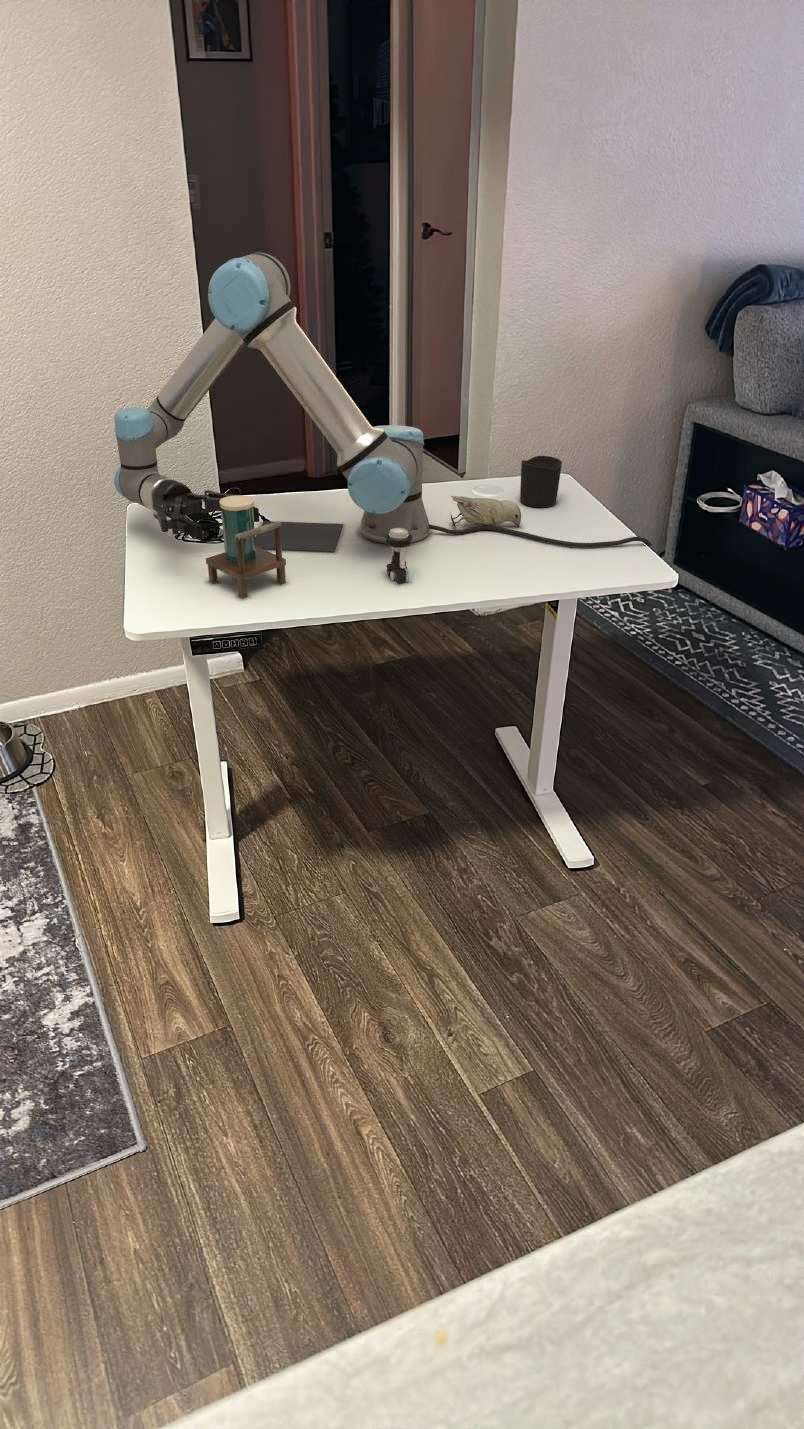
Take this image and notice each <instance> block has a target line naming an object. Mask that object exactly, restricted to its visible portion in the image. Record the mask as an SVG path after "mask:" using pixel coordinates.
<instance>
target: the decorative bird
mask: <svg viewBox="0 0 804 1429" xmlns="http://www.w3.org/2000/svg"><path fill="white" fill-rule="evenodd" d="M450 497H451V499H452V501H454V502H456V506H457V508H458V511H459V513H458V514H457V515H456V516H455V517H453V516H452V514H451V513H449V515H450V519H451V523H452V525H453V527H454V528H455V529H454V530H457V527H456V524H459V523H461V521H462V520H465V522H466V523H468V524H472V525H475V526H499V525H502V524H503V523H506V522H509V523H512V524H514V525H515V526H516V527H520V525H521V522H522V512H521V509H520V507H519V505H518V504H517V503H516V502H514V501H512V500H507V499H506V500H503V499H502V500H499V499H494V498H488V497H487V498H486V497H469V496H463V495H460V496H459V495H450ZM460 516H461V517H460ZM459 517H460V519H459V520H458V521H454V520H456V519H458V518H459Z"/></svg>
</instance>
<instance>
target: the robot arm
mask: <svg viewBox="0 0 804 1429" xmlns="http://www.w3.org/2000/svg"><path fill="white" fill-rule="evenodd" d="M207 292H208V293H207V299H208V305H209V307H210V311H211V313H212V315H213V317H214V319H213V320H212V321H211V323H210V324H209V326H208V328H207V329H206V330H205V331H204V332H203V334H202V335H201V337H199V340H198V341H197V342H196V343H195V345H193V347H192V349H191V350H190V351H189V353H188V354H187V355H186V357H185V358H184V359H183V361H182V362H181V363H180V365H179V366H178V367H177V368H176V370H175V371H174V373H173V374H172V375H171V377H170V378H169V379H168V380H167V382H166V384H165V385H164V386H163V387H162V389H161V390H160V392H159V393H158V395H157V396H156V397H155V398H154V400H153V401H152V402H151V403H150V405H149V406H148V407H147V408H143V407H127V408H122V409H119V410H117V411H116V413H115V414H114V418H113V419H114V433H115V438H116V444H117V450H118V451H117V452H118V457H119V463H120V466H119V468H118V469H117V470H116V471H115V475H114V478H113V484H114V487H115V490H116V491H117V493H118V494H119V495H121V496H122V497H123V498H124V499H126V500H127V501H128V502H129V501H130V502H131V503H133V504H137V505H140V506H143V507H145V508H146V509H148V510H151V511H152V513H153V518H154V519H156V520H158V523H159V524H158V525H159V526H160V529H161V531H162V533H168V532H169V530H171V533H172V535H173V536H175V535H176V536H177V535H179V533H182V534H186V535H187V536H190V537H192V538H194V539H196V540H198V541H201V540H203V529H202V525H201V524H200V523H197V522H195V521H193V520H191V519H188V518H186V517H185V516H190V515H192V514H193V515H197V514H208V513H209V512H221V507H220V504H219V501H220V500H221V499H222V498H224V497H228V496H235V495H236V494H233V493H225V492H224V493H223V492H216V491H213V490H210V489H206V490H204V494H198V493H197V494H196V493H193V492H192V490H191V489H190V488H189V487H188V486H187V484H184V483H182V482H180V481H177V480H175V479H173V478H170V477H169V476H168V477H167V476H165V475H162V474H161V473H159V466H158V458H157V448H159V447H161V446H162V445H163V444H164V443H166V442H168V441H169V440H171V439H173V438H175V437H176V436H177V435H178V434H179V433H180V431H182V429H183V428H184V425H185V422H186V420H187V419H188V417H190V415H191V414H192V412H193V411H194V410H195V409H196V407H197V406H198V405H199V403H201V401H202V400H203V398H204V397H205V396H206V395H207V393H208V392H209V391H210V390H211V388H212V387H213V385H214V384H215V383H216V382H217V381H218V379H219V378H220V377H221V375H222V374H224V371H225V370H226V369H227V368H228V367H229V365H230V364H231V363H232V362H233V360H234V359H235V358H236V356H237V355H238V354H239V353H240V352H241V350H242V349H243V347H244V346H245V345H246V347H248V348H249V349H255V350H259V351H260V352H261V353H262V354H263V356H264V357H265V358H266V360H267V361H268V363H269V365H271V366H272V368H273V369H274V370H275V373H277V375H278V376H279V377H280V378H281V380H282V381H283V382H284V384H285V385H286V386H287V388H288V389H289V390H290V392H291V393H292V395H293V396H294V398H296V400H297V401H298V403H299V404H300V405H301V408H303V409H304V411H305V412H306V414H307V415H308V416H309V417H310V419H311V420H312V421H313V423H314V424H315V426H316V427H317V429H319V431H320V432H321V433H322V435H323V436H324V437H325V439H326V440H327V442H328V443H329V444H330V446H331V447H332V448H333V450H334V452H336V454H337V455H336V456H337V458H336V459H337V460H336V467H337V468H338V469H339V471H340V472H341V474H342V475H343V476H344V477H345V479H346V480H347V491H348V494H349V497H350V498H351V500H352V501H353V503H354V505H356V506H357V507H358V508H360V509H361V510H363V515H362V517H361V519H360V520H361V521H360V534H361V535H362V536H363V538H366V539H367V540H369V541H371V542H376V543H380V544H386V539H385V535H386V534H387V533H389V532H390V530H391V529H393V528H404V529H407V530H408V533H410V534H412V536H413V537H412V540H411V544H412V543H416V542H419V541H422V540H424V539H426V537H428V536H429V535H430V530H434V531H438V532H442V533H444V534H448V535H465V534H470V533H472V532H479V531H494V532H501V533H505V534H509V535H512V536H513V535H514V536H519V537H522V538H527V539H531V540H534V541H538V542H543V543H548V544H552V545H558V546H562V547H563V546H565V547H573V548H601V547H602V548H603V547H614V546H620V545H624V544H629V543H633V542H640V543H644V544H645V545H646V546H648V547H651V546H653V544H652V542H651V541H650V540H649V539H647V538H646V537H642V536H630V537H627V538H623V539H618V540H611V541H598V542H577V541H576V542H575V541H566V540H561V539H555V538H549V537H545V536H541V535H536V534H532V533H529V532H524V531H522V530H521V531H520V530H515V529H511V528H506V527H502V526H498V525H496V526H482V525H475V526H471V527H468V528H464V529H456V530H455V529H450V528H447V527H443V526H439V525H435V524H434V525H433V524H430V521H429V518H428V513H427V511H426V508H425V505H424V501H423V474H424V472H423V471H424V470H423V468H424V446H425V442H424V433H423V431H422V430H421V429H419V428H417V427H414V426H407V425H395V424H391V425H385V424H384V425H376V426H373V425H371V424H370V422H369V420H367V418H366V417H365V415H364V413H362V410H360V408H359V407H358V406H357V404H356V403H355V401H354V400H353V399H352V397H351V396H350V395H349V393H348V392H347V390H346V389H345V388H344V386H343V385H342V383H341V381H339V379H338V378H337V377H336V375H335V373H334V372H333V370H332V369H331V368H330V367H329V365H328V364H327V363H326V361H325V359H324V358H323V357H322V355H321V353H319V352H318V350H317V349H316V347H315V346H314V345H313V343H312V342H311V340H310V339H309V338H308V337H307V335H306V334H305V332H304V330H303V329H302V328H301V327H300V324H298V322H297V319H296V318H297V316H296V315H297V307H296V306H295V304H294V303H293V302H292V300H291V299H290V294H291V279H290V276H289V273H288V271H287V269H286V268H285V266H284V265H283V263H281V261H279V259H277V258H276V257H275V256H272V255H271V254H268V253H264V252H252V253H248V254H246V255H244V256H243V255H242V256H240V257H234V258H232V259H228V260H227V261H226V262H225V263H223V264H222V265H220V266H219V267H218V268H217V269H216V270H215V271H214V272H213V274H212V276H211V277H210V281H209V284H208V290H207ZM203 504H204V508H203ZM253 514H254V523H259V522H260V509H259V507H257V506H253Z"/></svg>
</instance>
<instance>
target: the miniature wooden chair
mask: <svg viewBox="0 0 804 1429" xmlns="http://www.w3.org/2000/svg"><path fill="white" fill-rule="evenodd" d="M280 522H281V521H279V520H277V521H274V523H271V524H267V525H264V526H261V525H260V526H258V527H254V528H255V529H251V530H248V531H245V532H242V533H238V534H236V535H235V538H236V546H237V558H238V562H231V561H228V560H227V559H226V558H225V551H223V552H221V553H218V554H216V555H212V556H209V557H205V564H206V565H207V571H208V580H209V581H208V582H209V583H211V584H212V585H214V584H217V583H219V580H218V571H220V572H221V573H224V574H226V575H228V576H229V577H232V578H234V579H236V582H237V594H238V598H241V599H244V598H248V587H247V579H250V578H252V577H255V576H258V575H261V574H264V573H267V572H269V571H272V570H276V584H278V585H283V584H286V582H287V581H286V566H287V560H286V558H284V557H283V551H282V544H281V523H280ZM273 529H274V532H275V549H276V550H275V553H273V552H270V551H269V550H264V549H261V548H259V547H257V546H256V558H255V559H253V560H251V561H248V562H244V551H243V539H245V538H248V537H251V536H254V535H255V536H256V535H257V534H261V533H264V532H267V531H270V530H273Z"/></svg>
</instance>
